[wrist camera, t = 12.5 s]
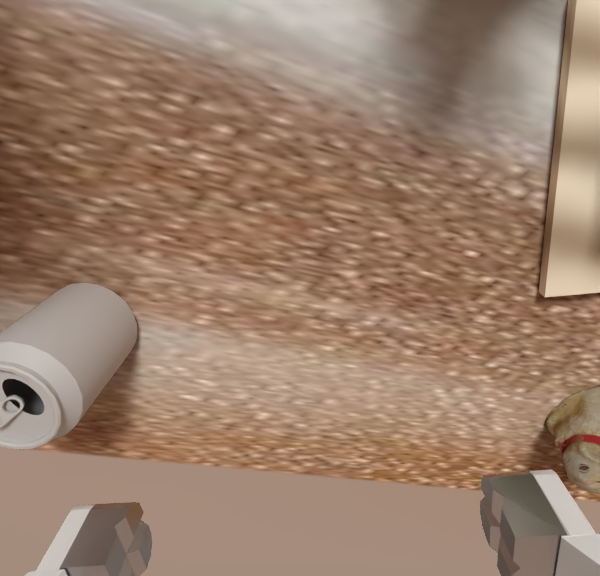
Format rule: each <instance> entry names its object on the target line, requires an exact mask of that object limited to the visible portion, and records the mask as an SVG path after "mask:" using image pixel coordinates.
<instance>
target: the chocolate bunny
mask: <svg viewBox="0 0 600 576" xmlns="http://www.w3.org/2000/svg"><path fill="white" fill-rule="evenodd" d="M546 426H547V427H548V430H549V432H550V433H551V434H552V435H553V436H554V437H555V440H554V442H553V444H554V445H555V446H556V447H559V448H560V449H561V450H562V453H563V455H562V464H563V468H564V471H565V474H566V476H567V477H568V479H569V480H570V481H572V482H573V483H574V484H576V485H577V486H578V487H580V488H582V489H584V490H586V491H589V492H591V493H596V494H600V386H598V387H595V388H589V389H587V390H581V391H580V392H578V393H575V394H574V395H571V396H569V397H567V398H565V399H564V400H563V401H562V402H561V403H560V404H559V405H558V406H557V407H555V408H554V409H553V410H552V411H551V413H550V414H549V415H548V417H547V419H546Z"/></svg>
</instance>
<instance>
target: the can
mask: <svg viewBox="0 0 600 576" xmlns="http://www.w3.org/2000/svg"><path fill="white" fill-rule="evenodd" d="M136 340H137V323H136V320H135V317H134V314H133V312H132V311H131V309H130V308H129V306H128V305H127V303H126V302H125V301H124V300H123V299H122V298H120V297H119V296H118V295H117V294H116V293H114V292H113V291H111V290H109V289H107V288H104V287H102V286H100V285H96V284H90V283H77V284H70V285H68V286H66V287H64V288H62V289H60V290H58V291H57V292H55V293H54V294H52V295H51V296H50V297H48V298H47V299H46V300H44V301H43V302H42V303H40V304H39V305H37V306H36V307H35V308H33V309H32V310H31V311H29V312H28V313H27V314H25V315H24V316H22V317H21V318H20V319H18V320H17V321H16V322H14V323H13V324H12V325H10V326H9V327H8V328H6V329H5V330H3V331H2V332H1V333H0V446H1V447H5V448H11V449H17V450H24V449H35V448H37V447H40V446H42V445H45V444H47V443H48V442H49V441H50V440H54V439H56V438H59V437H61V436H63V435H66V434H67V433H68V432H69V431H70V430H72V429H73V428H74V427H75V426H76V425H77V424H78V422H79V421H80V420H81V418H82V417H83V416H84V414H85V413H86V411H87V410H88V409H89V407H90V406H91V405H92V403H93V402H94V401H95V399H96V398H97V397H98V395H99V394H100V392H101V391H102V390H103V388H104V387H105V386H106V384H107V383H108V382H109V380H110V379H111V378H112V376H113V375H114V373H115V372H116V371H117V369H118V368H119V367H120V365H121V364H122V363H123V361H124V360H125V359H126V357H127V356H128V354H129V353H130V352H131V350H132V349H133V346H134V344H135V342H136Z"/></svg>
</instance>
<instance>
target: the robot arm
mask: <svg viewBox="0 0 600 576" xmlns="http://www.w3.org/2000/svg"><path fill="white" fill-rule="evenodd" d="M481 488H482V490H483V493H484V495H485V497H484V498H483V499H482V500H481V502H480V513H481V520H482V526H483V529H484V532H485V536H486V538H487V541H488V543H489V546H490V547H491V548H492V549H493V550H495V551H496V552H497V553H498V562H497V566H498V569H499V571H500V574H501V576H600V534H596V533H595V531H594V530H593V528H592V527H591V525H590V524H589V522H588V521H587V519H586V518H585V516H584V515H583V513H582V511H581V510H580V509H579V507H578V505H577V504H576V502H575V501H574V499H573V498H572V496H571V495H570V493H569V492H568V490H567V489H566V487H565V486H564V484H563V483H562V481H561V480H560V478H559V476H558V475H557V473H556V472H554V471H553V470H552V469H549V470H537V471H528V472H527V471H522V472H510V473H499V474H488V475H483V477H482V481H481ZM142 515H143V510H142V508H141V506H140V504H139V503H136V502H133V503H132V502H131V503H111V504H95V505H78V506H75V507H74V508H73V509H72V510H71V511H70V512H69V514H68V515H67V517H66V519H65V521H64V522H63V524H62V526H61V528H60V529H59V531H58V533H57V534H56V536H55V538H54V540H53V541H52V543H51V545H50V547H49V549H48V550H47V552H46V554H45V555H44V557H43V559H42V560H41V562H40V564H39V566H38V567H37V569H36V571H30V572H28V573H27V574H26V575H25V576H140V575H141V574H142V573H143V572H144V571H145V570H146V569H147V566H148V562H149V559H150V556H151V547H152V538H151V532H150V529H149V526H148V525H147V524H146V523H144V522H143V521H141V517H142Z"/></svg>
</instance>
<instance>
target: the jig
mask: <svg viewBox="0 0 600 576" xmlns="http://www.w3.org/2000/svg"><path fill="white" fill-rule="evenodd" d="M539 293H540V294H541V295H543V296H544V297H554V296H566V295H577V294H589V293H600V0H568V8H567V18H566V28H565V37H564V47H563V57H562V67H561V77H560V87H559V97H558V107H557V116H556V126H555V136H554V146H553V156H552V166H551V176H550V185H549V195H548V205H547V215H546V225H545V235H544V245H543V254H542V264H541V274H540V284H539Z"/></svg>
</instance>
